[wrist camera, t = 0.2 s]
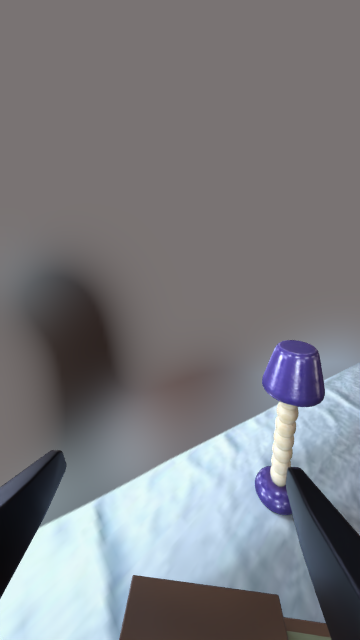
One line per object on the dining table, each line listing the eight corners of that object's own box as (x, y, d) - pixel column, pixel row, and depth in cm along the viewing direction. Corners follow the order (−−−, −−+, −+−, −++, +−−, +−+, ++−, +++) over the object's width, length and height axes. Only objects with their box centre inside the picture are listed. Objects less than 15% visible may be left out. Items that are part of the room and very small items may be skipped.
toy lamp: (242, 479, 23) (254, 343, 17) (269, 457, 25) (288, 330, 19) (282, 527, 19) (315, 371, 13) (310, 495, 21) (349, 350, 15)
